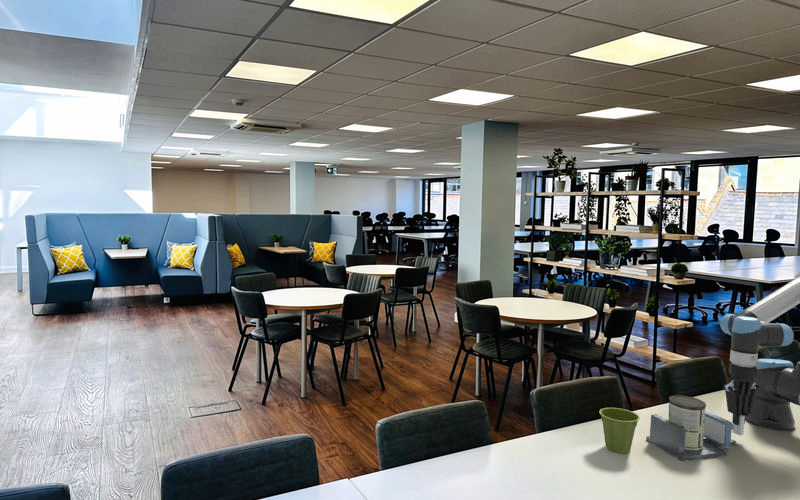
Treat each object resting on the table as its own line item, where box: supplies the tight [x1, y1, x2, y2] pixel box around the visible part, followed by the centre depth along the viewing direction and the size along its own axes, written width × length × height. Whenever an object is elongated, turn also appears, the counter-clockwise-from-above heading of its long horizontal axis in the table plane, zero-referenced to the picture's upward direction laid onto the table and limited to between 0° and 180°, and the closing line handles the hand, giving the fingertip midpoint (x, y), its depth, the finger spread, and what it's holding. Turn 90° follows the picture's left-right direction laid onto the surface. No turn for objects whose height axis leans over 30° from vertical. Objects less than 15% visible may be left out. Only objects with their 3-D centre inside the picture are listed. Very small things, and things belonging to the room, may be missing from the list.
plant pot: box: [598, 407, 641, 454], centre depth 161 cm, size 12×12×11 cm
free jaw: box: [703, 410, 734, 448], centre depth 167 cm, size 9×11×8 cm
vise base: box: [645, 413, 737, 462], centre depth 164 cm, size 27×15×9 cm, turn 105°
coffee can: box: [667, 394, 707, 450], centre depth 163 cm, size 10×10×14 cm
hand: (737, 433), depth 169 cm, fingers closed
